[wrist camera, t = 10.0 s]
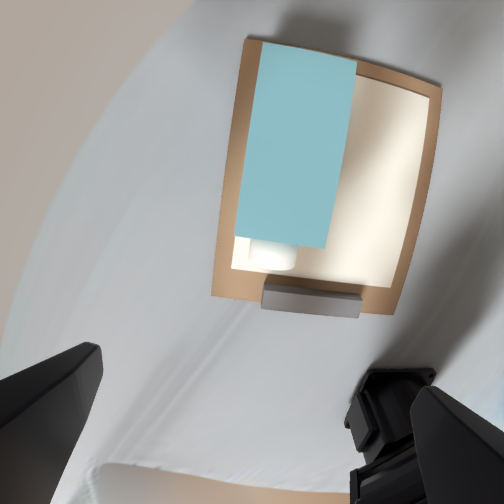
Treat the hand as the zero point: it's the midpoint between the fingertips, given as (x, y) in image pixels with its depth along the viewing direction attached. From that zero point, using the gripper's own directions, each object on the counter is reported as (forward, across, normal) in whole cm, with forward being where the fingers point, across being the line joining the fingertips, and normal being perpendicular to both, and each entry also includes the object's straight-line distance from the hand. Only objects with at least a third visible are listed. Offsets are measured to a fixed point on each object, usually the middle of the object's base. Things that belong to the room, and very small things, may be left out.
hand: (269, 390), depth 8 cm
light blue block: (+11, 0, -5) cm, 12 cm away
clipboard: (+12, -3, -4) cm, 13 cm away
